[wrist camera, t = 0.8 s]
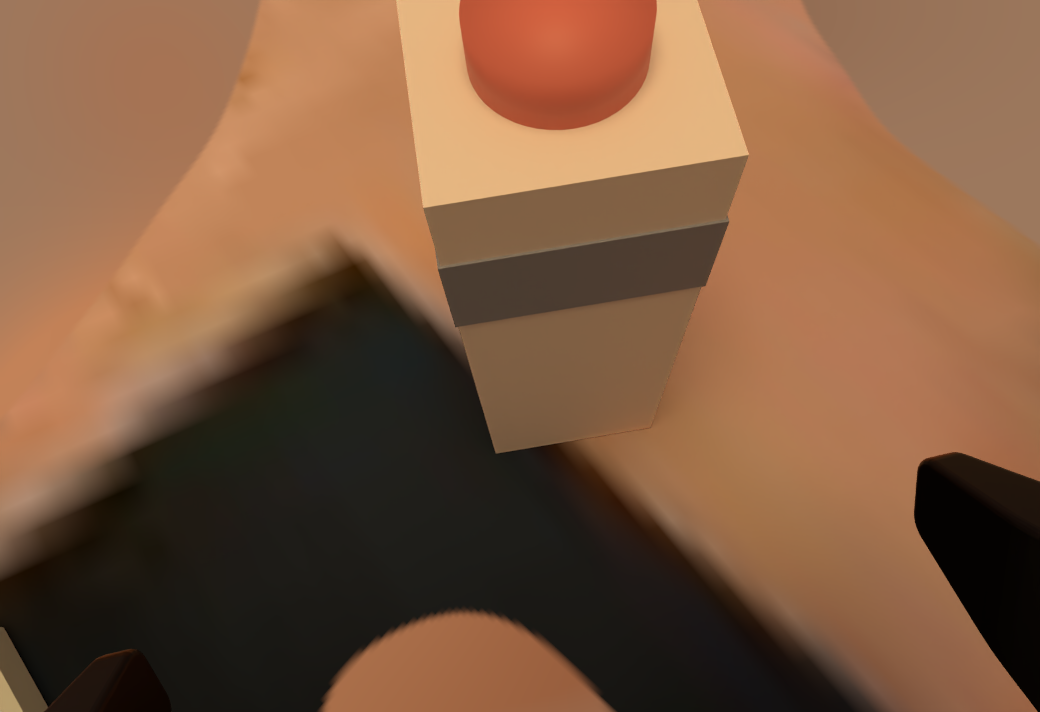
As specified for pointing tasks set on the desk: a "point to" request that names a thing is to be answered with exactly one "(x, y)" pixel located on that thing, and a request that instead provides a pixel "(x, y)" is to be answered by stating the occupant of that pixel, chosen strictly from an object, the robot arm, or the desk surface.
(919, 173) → the desk surface
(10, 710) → the jig
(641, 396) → the tapered square pillar
